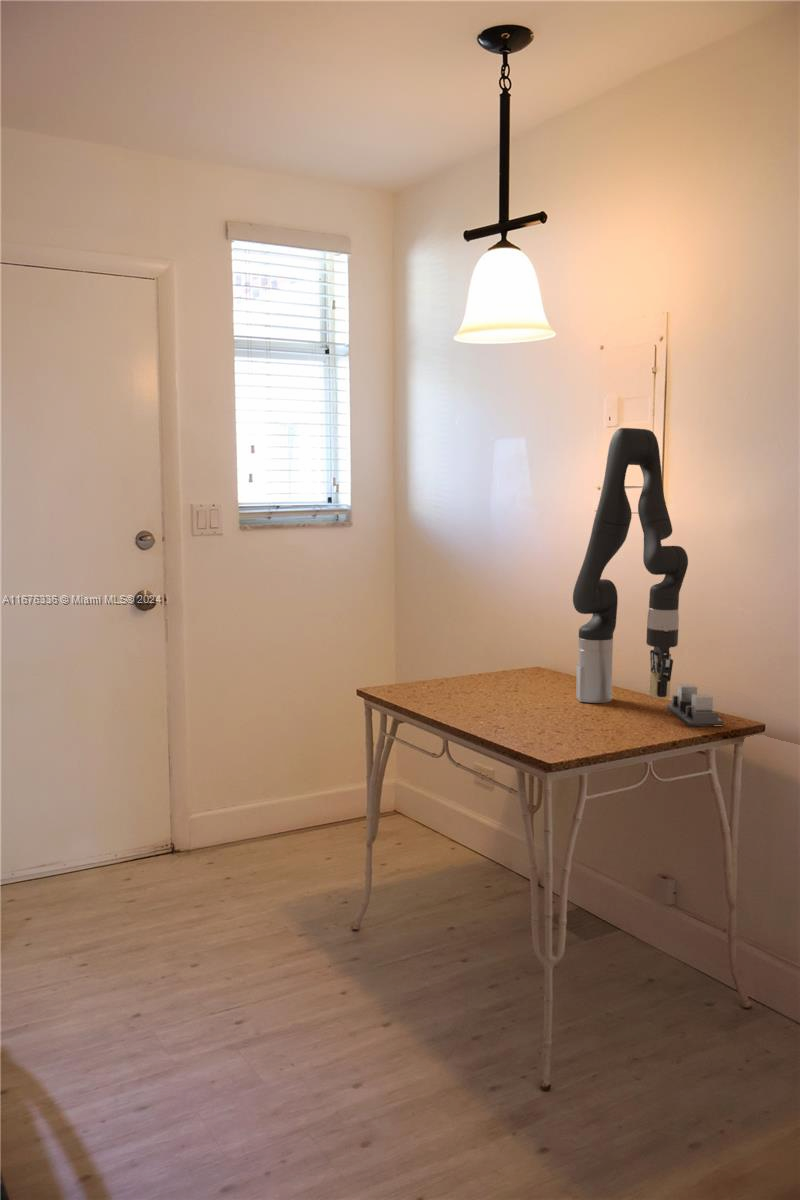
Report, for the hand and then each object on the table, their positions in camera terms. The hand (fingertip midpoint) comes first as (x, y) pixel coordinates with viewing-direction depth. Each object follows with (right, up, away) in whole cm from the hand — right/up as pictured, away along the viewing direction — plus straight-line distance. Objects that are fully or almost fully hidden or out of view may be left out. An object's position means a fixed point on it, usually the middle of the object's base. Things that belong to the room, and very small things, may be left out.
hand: (659, 694), depth 246 cm
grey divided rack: (+9, -6, +3) cm, 12 cm away
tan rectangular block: (0, -1, 0) cm, 1 cm away
